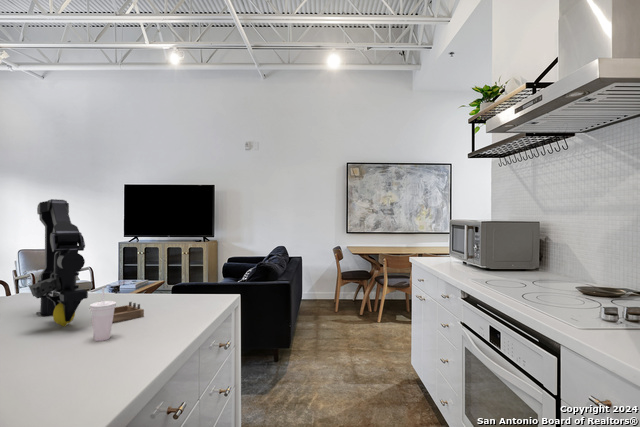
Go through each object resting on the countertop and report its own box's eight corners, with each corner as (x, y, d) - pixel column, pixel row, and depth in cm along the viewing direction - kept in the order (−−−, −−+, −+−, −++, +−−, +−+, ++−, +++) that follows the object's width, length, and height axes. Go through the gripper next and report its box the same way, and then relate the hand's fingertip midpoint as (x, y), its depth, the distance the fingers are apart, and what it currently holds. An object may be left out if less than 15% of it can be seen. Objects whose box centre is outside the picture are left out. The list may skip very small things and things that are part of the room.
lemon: (63, 329, 105) (63, 302, 106) (47, 328, 107) (48, 301, 107) (79, 324, 111) (79, 299, 111) (64, 323, 112) (65, 298, 112)
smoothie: (86, 343, 93) (88, 290, 93) (89, 336, 99) (91, 287, 99) (114, 340, 96) (116, 288, 96) (116, 333, 102) (117, 285, 102)
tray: (94, 318, 118) (94, 306, 118) (128, 311, 127) (128, 300, 127) (109, 324, 111) (109, 311, 111) (143, 316, 120) (143, 305, 120)
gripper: (23, 269, 108) (21, 320, 108) (44, 274, 97) (42, 331, 97) (65, 266, 117) (64, 313, 117) (89, 270, 106) (87, 322, 106)
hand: (64, 319), depth 109 cm, fingers closed on lemon, 5 cm apart
